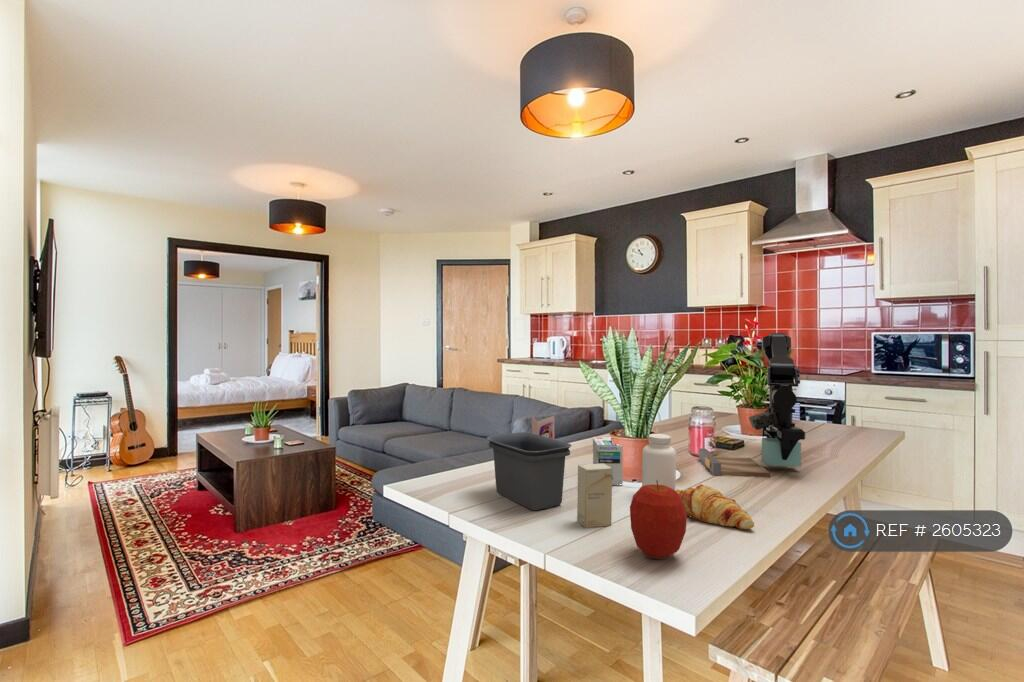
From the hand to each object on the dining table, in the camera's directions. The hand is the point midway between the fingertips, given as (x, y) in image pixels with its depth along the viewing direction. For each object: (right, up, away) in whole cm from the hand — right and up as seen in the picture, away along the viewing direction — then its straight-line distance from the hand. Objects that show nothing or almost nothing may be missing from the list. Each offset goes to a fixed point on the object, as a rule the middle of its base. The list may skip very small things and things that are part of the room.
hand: (780, 457), depth 148 cm
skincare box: (-62, -5, -41) cm, 74 cm away
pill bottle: (-43, -4, -24) cm, 49 cm away
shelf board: (-12, -4, +1) cm, 13 cm away
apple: (-53, -5, -57) cm, 78 cm away
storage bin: (-74, -4, -25) cm, 79 cm away
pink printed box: (-71, -4, +1) cm, 72 cm away
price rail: (-20, -4, +3) cm, 21 cm away
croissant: (-36, -5, -38) cm, 52 cm away
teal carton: (0, -2, 0) cm, 2 cm away
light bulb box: (-53, -4, -10) cm, 54 cm away
